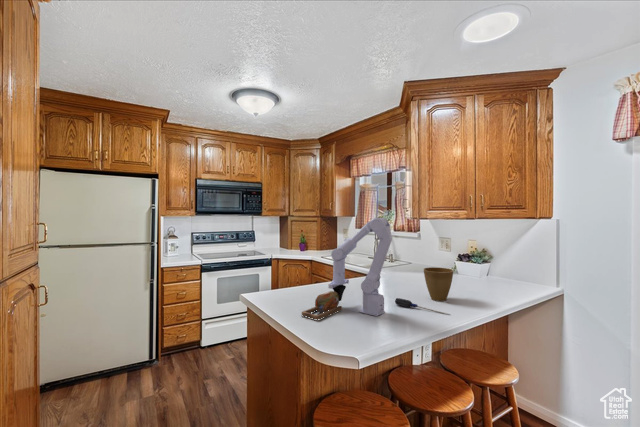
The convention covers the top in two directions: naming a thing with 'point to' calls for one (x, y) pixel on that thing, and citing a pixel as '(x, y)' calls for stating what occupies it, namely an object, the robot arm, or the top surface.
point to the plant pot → (438, 282)
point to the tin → (326, 301)
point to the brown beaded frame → (308, 313)
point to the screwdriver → (412, 305)
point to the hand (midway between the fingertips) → (338, 300)
